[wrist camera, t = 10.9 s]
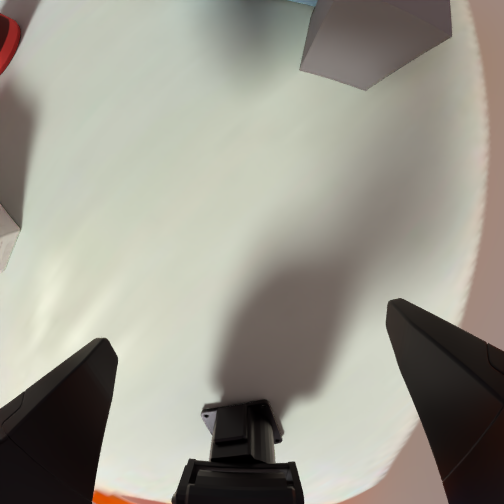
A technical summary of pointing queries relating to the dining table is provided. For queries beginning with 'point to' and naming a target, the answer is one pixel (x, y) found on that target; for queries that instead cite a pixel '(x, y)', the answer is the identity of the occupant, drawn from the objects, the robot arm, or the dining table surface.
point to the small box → (6, 237)
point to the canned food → (8, 40)
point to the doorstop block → (371, 37)
